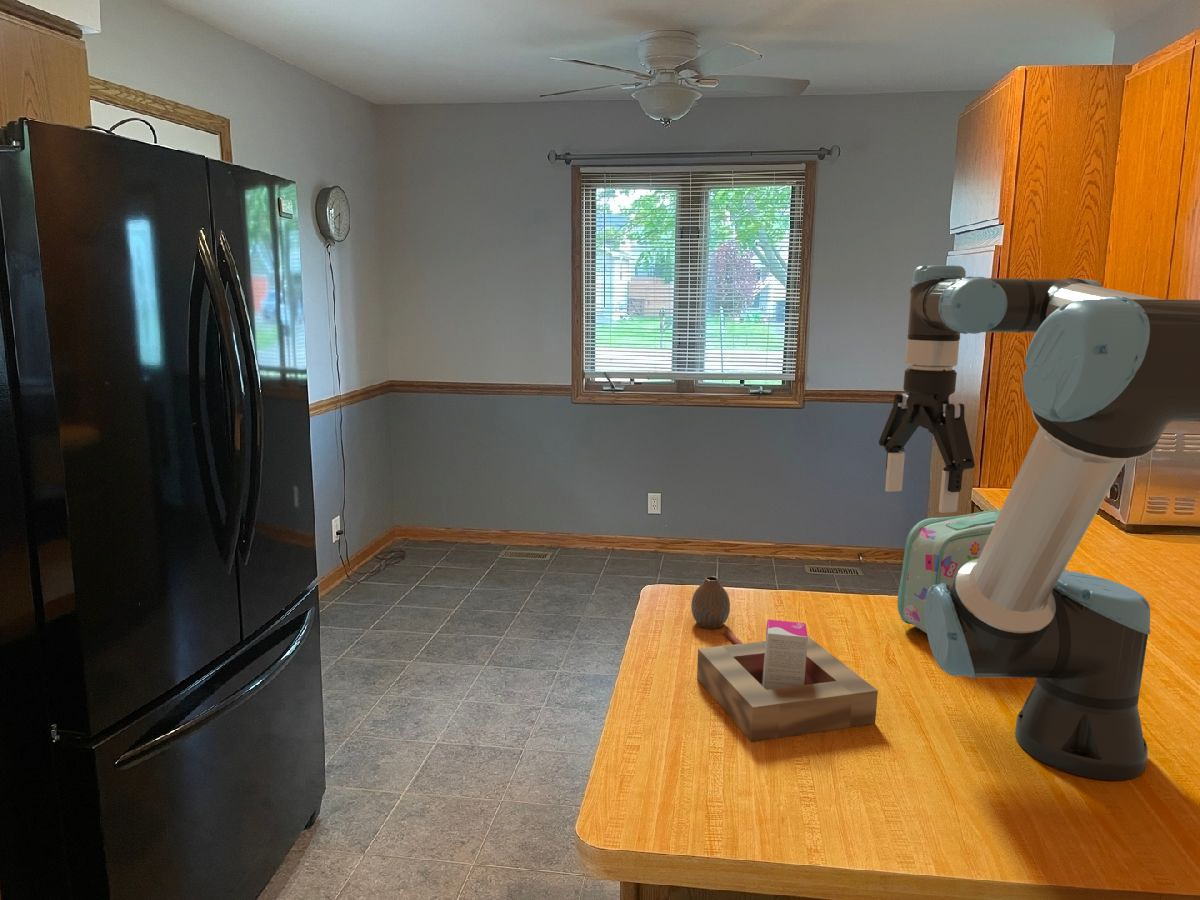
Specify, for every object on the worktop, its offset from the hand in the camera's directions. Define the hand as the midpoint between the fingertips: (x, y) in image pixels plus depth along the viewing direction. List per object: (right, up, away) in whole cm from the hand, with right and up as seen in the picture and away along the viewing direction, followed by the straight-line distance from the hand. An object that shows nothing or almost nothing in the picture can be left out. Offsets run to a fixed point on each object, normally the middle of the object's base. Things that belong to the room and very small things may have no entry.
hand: (919, 501), depth 132 cm
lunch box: (+16, -24, +19) cm, 34 cm away
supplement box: (-24, -29, -10) cm, 39 cm away
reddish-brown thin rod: (-27, -25, +8) cm, 38 cm away
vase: (-31, -24, +18) cm, 43 cm away
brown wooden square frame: (-24, -29, -10) cm, 39 cm away
